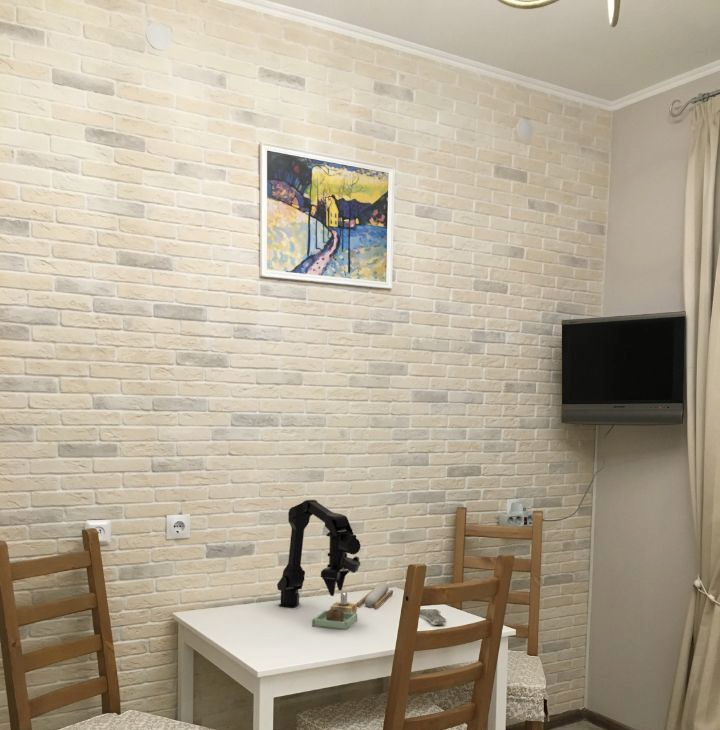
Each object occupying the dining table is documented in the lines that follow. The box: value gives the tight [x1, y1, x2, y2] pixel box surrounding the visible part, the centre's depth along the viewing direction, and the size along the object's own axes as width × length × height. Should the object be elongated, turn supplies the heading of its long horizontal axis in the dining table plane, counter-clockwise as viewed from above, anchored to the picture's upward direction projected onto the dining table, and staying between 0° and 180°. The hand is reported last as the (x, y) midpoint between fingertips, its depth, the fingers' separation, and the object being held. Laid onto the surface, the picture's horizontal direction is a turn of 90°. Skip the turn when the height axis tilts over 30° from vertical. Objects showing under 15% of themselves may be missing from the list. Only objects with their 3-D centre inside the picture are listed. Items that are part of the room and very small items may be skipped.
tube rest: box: [356, 588, 394, 610], centre depth 321 cm, size 8×26×2 cm, turn 163°
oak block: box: [330, 600, 358, 614], centre depth 300 cm, size 8×8×4 cm
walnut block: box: [326, 608, 344, 622], centre depth 286 cm, size 5×5×4 cm
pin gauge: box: [340, 591, 348, 606], centre depth 300 cm, size 2×2×8 cm
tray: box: [311, 609, 358, 631], centre depth 286 cm, size 13×13×2 cm
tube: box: [364, 581, 389, 608], centre depth 322 cm, size 5×5×25 cm
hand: (336, 593), depth 287 cm, fingers open, 9 cm apart
